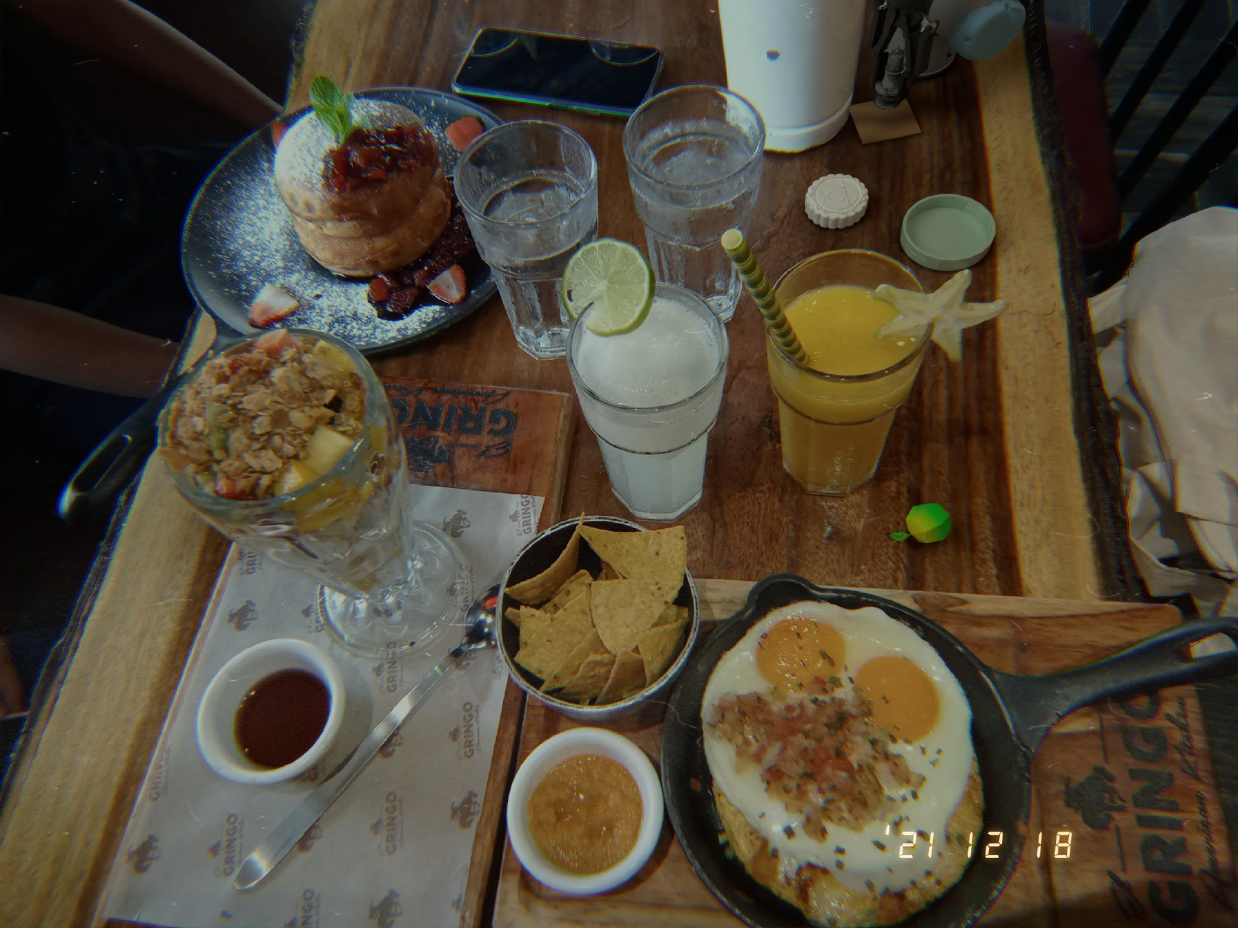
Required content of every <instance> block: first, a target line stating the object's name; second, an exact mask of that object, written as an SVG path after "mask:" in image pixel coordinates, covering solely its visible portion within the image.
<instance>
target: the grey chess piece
mask: <svg viewBox="0 0 1238 928" xmlns="http://www.w3.org/2000/svg"><path fill="white" fill-rule="evenodd" d="M904 56H905V53H904V51H903V50H901V49H900V47H899V46H898V47H897V49H894V50H892V51H891V52H890V54H889V59H888V64H887V65H886V66H885V77H883V78H881V79H880V80H878V81H877V83H876V85H875V92H876V96H875V97H874V100H873V101H874V104H875V106H876V107H877V108H879V109H882V110H892V109H895V108H897V107H898V106H899V105H900V103H901V102H900V103H899V104H897V103H896V97H897V93H898V88H899V84H900V79H901V78H900V76H901V72H903V70H904V67H903V61H904Z"/></svg>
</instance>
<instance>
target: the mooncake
mask: <svg viewBox="0 0 1238 928" xmlns="http://www.w3.org/2000/svg"><path fill="white" fill-rule="evenodd" d="M868 194H869V190H868V189H867V188H866V184H865V183H864V182H861V181H860V179H858V178H857V177H853V176H851V174H843V173H837V174H832V173H830V174H828V175H826V176H820V177H819V178H818V179H817V180H814V181H813V182H812V185H810V186H809V187H808V188H807V192H806V194H805V198H804V207H805V208H804V212H805V214H807V218H808V219H809V220H811V221H812V222H813V224H814V225H819V226H820V227H821V228H823V229H824V228H825V229H826V228H828V229H830V230H836V229H845V228H846V227H852V226H853V225H854V224H855V223H859V222H860V221H861V218H862V217H864V216H865V214H866V210H867V209H868V203H869V195H868Z"/></svg>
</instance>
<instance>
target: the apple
mask: <svg viewBox="0 0 1238 928" xmlns="http://www.w3.org/2000/svg"><path fill="white" fill-rule="evenodd" d="M905 523H906V528H907V531H908V532H909V534H908V533H906V532H903V531H901V530H896V531H894V532H892V533H891V534H889V537H891V539H893V540H894V541H896V542H897V543H903V542H904V541H905V540H907V539H908V538H909V537H911V536H912V537H913V538H914V539H915V540H916V541H917V542H918V543H925V544H928V543H935V542H939V541H944V540H946V538H947V536H948V534H949V532H950V530H951V529H952V520H951V515H950V514H949V513H948V512H947V511H946V509H944V507H942V505H940V503H932V502H929V503H924V504H919V505H913V506H912V508H911V509H910V511H909V513H908V514H907V516H906V518H905Z"/></svg>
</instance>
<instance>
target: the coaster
mask: <svg viewBox="0 0 1238 928" xmlns="http://www.w3.org/2000/svg"><path fill="white" fill-rule="evenodd" d="M850 105H851V106H850ZM850 105H849V106H850V111H849V113H850V116H851V119H852V121H853V124H854V126H855V129H856V131H857V134H858V137H859V139H860V141H861V144H862V146H867V145H872V144H876V143H881V142H886V141H890V140H898V139H901V138H907V137H912V136H916V135H921V134H922V130H921V128H920V125H919V123H918V121H917V119H916V116H915V114H914V112H913V110H912V108H911V106H910V103H909V101H908V98H906V99H905V100H903V101H902V102H901V103H900V105H899V106H898V107H897V108H895V109H892V110H882V109H879V108H877V107H876V106H875V104H874V100H869V101H865V102H859V103H855V104H850Z"/></svg>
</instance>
